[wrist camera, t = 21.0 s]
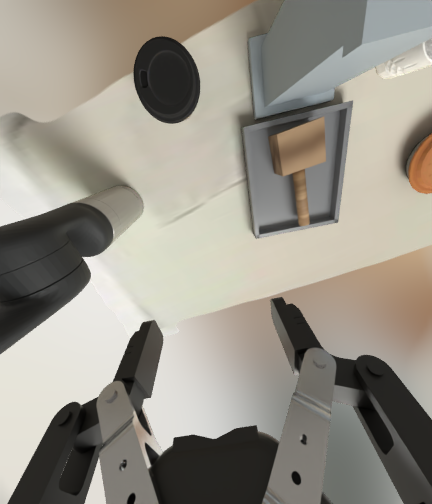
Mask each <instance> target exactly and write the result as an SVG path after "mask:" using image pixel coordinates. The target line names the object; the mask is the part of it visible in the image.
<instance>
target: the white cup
mask: <svg viewBox="0 0 432 504" xmlns="http://www.w3.org/2000/svg"><path fill="white" fill-rule="evenodd" d="M429 66H432V38H431V39H429V40H427V41H425V42H423V43H421V44H419V45H417V46H415V47H413V48H411V49H409V50H407V51H405V52H403V53H401V54H399V55H398V56H396V57H394V58H392V59H390V60H388V61H386V62H384V63H382V64H380V65H378V66H376V70H377V74H378V75H379V76H380V77H381V78H382V79H391V78H394V77H397V76H400V75H405V74H408V73H411V72H414V71H417V70H420V69H423V68H426V67H429Z"/></svg>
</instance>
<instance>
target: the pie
mask: <svg viewBox="0 0 432 504" xmlns="http://www.w3.org/2000/svg"><path fill="white" fill-rule="evenodd" d="M406 174H407V176H408V178H409V182H410V184H411V186H412V188H414V189H415V190H416V191H418V192H420V193H425V194H428V193H432V133H431V134H430V135H428V136H427V137H425V138H424V139H423V140H422V141H421V142H420V143H419V144H418V145H417V146H416V147H415V148H414V150H413V151H412V152H411V154H410V156H409V158H408V160H407V164H406Z"/></svg>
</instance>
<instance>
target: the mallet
mask: <svg viewBox="0 0 432 504" xmlns="http://www.w3.org/2000/svg"><path fill="white" fill-rule="evenodd" d="M268 139H269V145H270V151H271V157H272V163H273V169H274V174H277V175H280V176H286V175H289V174H293V182H294V190H295V198H296V207H297V215H298V223H299V225H300V226H306V225H308V224H310V221H309V210H308V199H307V188H306V177H305V169H306V168H309V167H312V166H314V165H317V164H320V163H323V162H326V148H325V122H324V117H321V118H318V119H314V120H311V121H308V122H305V123H303V124H300V125H298V126H295V127H292V128H290V129H287V130H284V131H282V132H279V133H277V134H274V135H271V136H269V137H268Z"/></svg>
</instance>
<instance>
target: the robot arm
mask: <svg viewBox="0 0 432 504" xmlns="http://www.w3.org/2000/svg"><path fill="white" fill-rule="evenodd" d="M143 208H144V207H143V201H142V199H141V197H140V196H139V194H138V193H137V192H136V191H135V190H133V189H132V188H130V187H127V186H115V187H113V188H110V189H107V190H104V191H102V192H99V193H96V194H94V195H91V196H88V197H86V198H83V199H80V200H78V201H75V202H73V203H70V204H67V205H65V206H62V207H60V208H57V209H54V210H52V211H49V212H47V213H44V214H41V215H38V216H35V217H31V218H28V219H25V220H22V221H18V222H15V223H11V224H8V225H4V226H1V227H0V354H1V353H3V352H4V351H5V350H7V349H8V348H9V347H11V346H12V345H13V344H15V343H16V342H17V341H18V340H20V339H21V338H22V337H24V336H25V335H26V334H28V333H29V332H30V331H32V330H33V329H34V328H36V327H37V326H38V325H40V324H41V323H42V322H44V321H45V320H46V319H48V318H49V317H50V316H52V315H53V314H54V313H56V312H57V311H58V310H59V309H61V308H62V307H63V306H64V305H66V304H67V303H68V302H70V301H71V300H72V299H73V298H74V297H75V296H77V295H78V294H79V293H80V292H81V291H82V289H84V287H85V286H86V285H87V284H88V282H89V280H90V278H91V273H90V270H89V268H88V266H87V264H86V262H85V261H84V259H83V258H82V257H91V256H95V255H98V254H100V253H102V252H103V251H104V250H105V249H107V248H108V247H109V246H110V245H111V244H112V243H113V242H114V241H115V240H116V239H117V238H118V237H119V236H120V235H121V234H122V233H123V232H124V231H125V230H126V229H128V228H129V227H130V226H131V225H132V224H133V223H134V222H135V221H136V220H137V219H138V218H139V217H140V216H141V215H142V213H143ZM271 314H272V319H273V323H274V325H275V328H276V330H277V333H278V336H279V338H280V341H281V343H282V345H283V348H284V350H285V353H286V355H287V358H288V361H289V363H290V366H291V368H292V371H293V373H294V375H298V374H299V378H298V382H297V385H296V389H295V392H294V393H293V395H292V398H291V402H290V405H289V409H288V413H287V417H286V421H285V424H284V428H283V432H282V435H281V439H280V442H279V441H278V440H276V439H274V438H273V437H272V436H270V435H268V434H265V433H262V432H258V430H257V426H249V427H242V428H236V429H234V430H232V431H230V432H228V433H227V434H224V435H222V436H221V437H219V438H217V439H210V438H205V437H202V436H197V435H189V436H182V437H175V438H174V441H173V445H172V446H171V447H169V448H168V449H167V450H165V451H164V452H163V451H162V449H161V447H160V446H159V444H158V442H157V441H156V438H155V436H154V434H153V431H152V429H151V426H150V423H149V421H148V418H147V416H146V413H145V411H144V408H143V406H142V404H143V400H144V399H146V398H151V395H152V390H153V386H154V381H155V377H156V372H157V368H158V363H159V359H160V354H161V350H162V345H163V335H162V333H161V331H160V329H159V327H158V325H157V323H156V321H155V320H152V321H147V322H143V323H142V324H141V327H140V330H139V331H137V332H135V333H134V335H133V336H132V337H131V339H130V341H129V343H128V346H127V349H126V351H125V354H124V355H123V358H122V360H121V363H120V365H119V368H118V370H117V373H116V375H115V378H114V380H113V382H112V383H111V384H109V385H107V386H106V387H105V388H104V389H103V391H102V392H101V394H100V395H99V397H97V398H95V399H93V400H91V401H89V402H87V403H85V404H83V405H80V404H79V403H77V402H72V403H69V404H67V405H66V406H64V407H63V408H62V409H61V410H60V411H59V412H58V413H57V414H56V415H55V416H54V418H53V419H52V421H51V423H50V425H49V427H48V429H47V430H46V432H45V434H44V436H43V438H42V440H41V442H40V444H39V446H38V447H37V449H36V451H35V453H34V455H33V457H32V459H31V460H30V462H29V464H28V466H27V468H26V470H25V472H24V474H23V476H22V478H21V479H20V481H19V483H18V485H17V487H16V489H15V491H14V492H13V495H12V496H11V498H10V500H9V502H8V504H84V503H85V499H86V496H87V493H88V490H89V487H90V483H91V480H92V477H93V474H94V471H95V467H96V464H97V461H98V458H99V459H100V465H101V471H102V478H103V484H104V490H105V497H106V504H333V503H332V502H331V501H330V500H329V499H328V497H327V496H326V495H325V494H324V493H323V492H322V486H323V478H324V470H325V462H326V453H327V445H328V437H329V429H330V421H331V406H332V401H334V402H338V403H342V404H347V405H351V406H353V408H354V410H355V412H356V413H357V415H358V417H359V419H360V421H361V423H362V425H363V427H364V429H365V430H366V432H367V434H368V436H369V438H370V440H371V442H372V444H373V446H374V448H375V450H376V452H377V454H378V455H379V457H380V459H381V461H382V463H383V465H384V467H385V469H386V471H387V472H388V475H389V476H390V478H391V480H392V482H393V484H394V486H395V488H396V489H397V492H398V494H399V496H400V497H401V499H402V501H403V503H404V504H432V420H431V418H430V417H429V416H428V414H427V413H426V412H425V411H424V409H423V408H422V407H421V405H420V404H419V403H418V402H417V401H416V399H415V398H414V397H413V395H412V394H411V393H410V392H409V390H408V389H407V388H406V387H405V385H404V384H403V383H402V381H401V380H400V379H399V378H398V376H397V375H396V374H395V373H394V371H393V370H392V369H391V368H390V367H389V366H388V365H387V364H386V363H385V362H384V361H382V360H381V359H379V358H377V357H374V356H370V355H362V356H359V357H358V358H357V360H350V359H343V358H339V357H335V356H333V355H331V354H329V353H328V352H327V351H325V350H324V349H323V348H322V346H321V345H320V343H319V342H318V340H317V339H316V337H315V335H314V333H313V331H312V330H311V328H310V326H309V325H308V323H307V322H306V320H305V318H304V317H303V315H302V313H301V311H300V310H299V309H298V308H297V307H296V306H295V305H293V304H287V305H286V303H285V301H284V299H283V298H282V297H280V298H274V299H271ZM102 445H103V446H102ZM71 450H72V451H71ZM70 452H71V453H70ZM68 457H69V458H68ZM66 462H67V463H66ZM65 464H66V465H65ZM64 467H65V468H64ZM63 469H64V470H63ZM61 474H62V475H61Z"/></svg>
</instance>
